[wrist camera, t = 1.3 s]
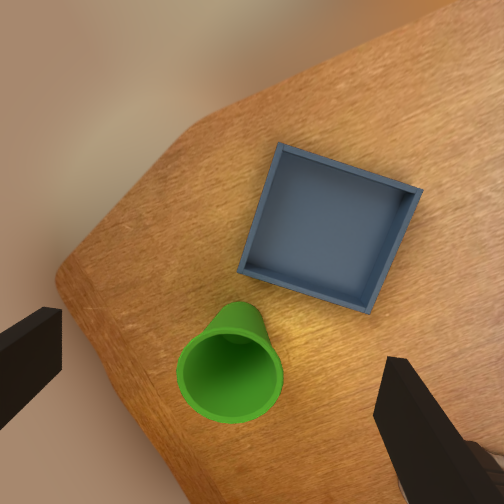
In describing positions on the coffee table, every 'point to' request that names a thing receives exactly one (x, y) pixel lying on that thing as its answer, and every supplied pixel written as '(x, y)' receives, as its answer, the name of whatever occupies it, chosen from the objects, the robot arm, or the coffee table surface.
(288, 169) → the blue tray
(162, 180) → the coffee table surface
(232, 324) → the cup
